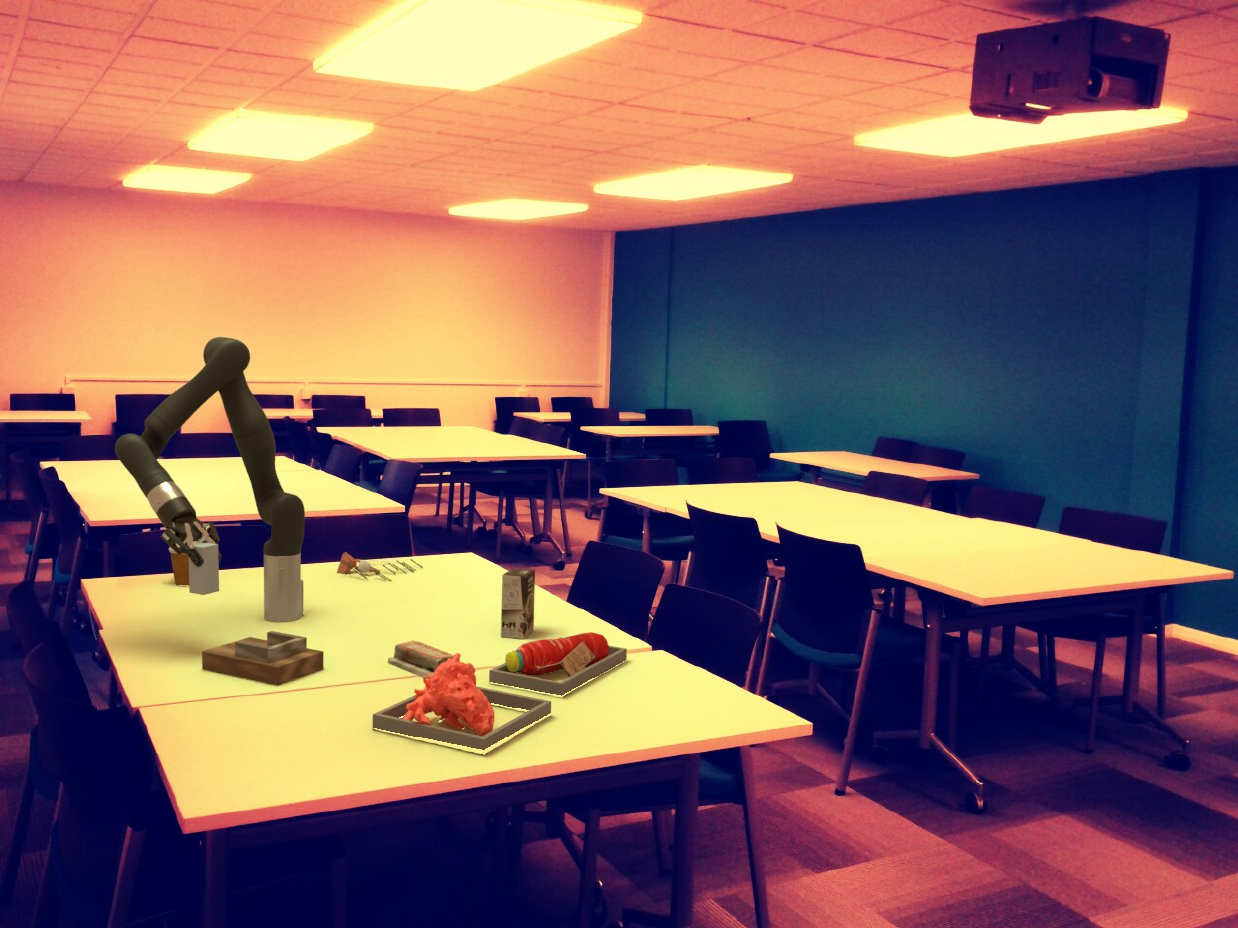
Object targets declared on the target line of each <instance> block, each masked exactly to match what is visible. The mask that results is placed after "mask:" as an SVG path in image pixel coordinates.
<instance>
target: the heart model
mask: <svg viewBox="0 0 1238 928" xmlns="http://www.w3.org/2000/svg"><path fill="white" fill-rule="evenodd" d="M453 655H454V656H453V658H452V659H451V658H448V660H447V661H446V662H444V663H441V664H440V665H439V666H438V667H437V668H436V670H435V672H434V673H433V675H432V676H430V673H428V675H427V677H428V678H430V679H426V676H424V677H422V679H423V681H422V682H423V684H424V688H423V689H416V688H415V689H414V695H413V696H414V697H417V699H416V700H415V701H414V702H412V703H409V704H407V706H406V709H407V710H408V712H407V713H406V714H405V716H404V717H403V718H402V719H406V720H410V721H415V722H418V723H422V724H428V725H433V724H432V722H431V721H430V717H428V716H426V715H427V714H429V713H434V715H435V716H437V717H440V718H439V719H438V721H439V720H442V719H443V720H445V719H446V720H445V723H446V725H448V726H450V727H453V728H455V729H459V730H462V728H464V727H465V726H466V727H468V728H469V729H472V731H473V732H475V733H476V734H477V736H478V735H479V736H484V735H486V734H488V733H490V732H491V731H493V730H494V728H493V727H494V723H495V710H494V708H493V707H494V706H491V703H489V701H488V700H487V697H486V696H485V695H484V694H483V692H482V691H480V689H477V688H476V685H477V676H476V674H475V673H476V668H475V666H474V665H473V664H472V663H471V662H467V663H465V662H463V661H461V660H459V659H461V657H462V656H461V654H460V653H459V652H456V653H455V654H453ZM444 718H445V719H444ZM459 719H460V720H461V722H460V721H459ZM443 720H442V721H443Z"/></svg>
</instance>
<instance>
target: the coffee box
mask: <svg viewBox="0 0 1238 928" xmlns="http://www.w3.org/2000/svg"><path fill="white" fill-rule="evenodd" d="M501 576H502V579H501V581H502V583H501V618H500V620H501V621H500V637H501V638H507V639H517V638H519V640H525V639H526V638H527V637H528V636H529V635H530V634H531V633H532V632H533V631H535V590H536V589H535V586H536V569H532V568H531V569H530V568H528V569H527V568H511V569H509V570H508V571H506V572H505V573H504V574H503V573H502V575H501ZM527 635H528V636H527ZM526 636H527V637H526Z"/></svg>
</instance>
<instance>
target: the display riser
mask: <svg viewBox="0 0 1238 928" xmlns="http://www.w3.org/2000/svg"><path fill="white" fill-rule="evenodd" d="M307 641H308V638H307V637H306V636H300V635H295V634H290V633H285V632H279V631H275V630H271V631H268V632H266V639H264V638H258V637H253V636H249V637H245V638H242V639H239V640H235V641H232V642H229V643H226V644H222V645H219V646H216V647H212V648H209V649H206V650H202V651H201V668H202V670H204V671H210V672H214V673H217V674H223V675H226V676H230V677H231V676H232V677H235V678H241V679H244V678H246V679H245V680H249V679H250V680H249V681H253V680H254V682H258V681H259V682H260V683H263V684H268V685H273V686H276V687H279V686H281V685H283V684H286V683H289V682H292V681H295V680H297V679H299V678H302V677H306V676H308V675H310V674H314V673H315V672H319V671H322V670H323V669H324V651H323V650H318V649H313V648H308V647H307ZM296 678H297V679H296ZM294 679H295V680H294Z"/></svg>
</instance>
